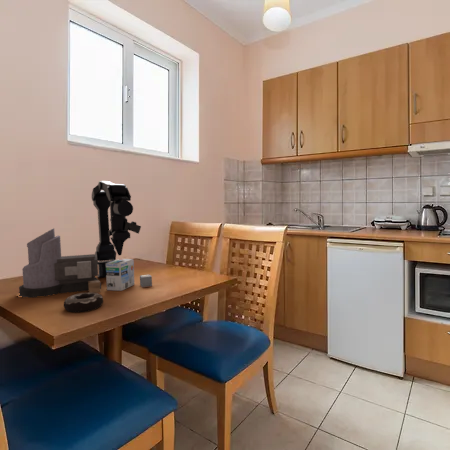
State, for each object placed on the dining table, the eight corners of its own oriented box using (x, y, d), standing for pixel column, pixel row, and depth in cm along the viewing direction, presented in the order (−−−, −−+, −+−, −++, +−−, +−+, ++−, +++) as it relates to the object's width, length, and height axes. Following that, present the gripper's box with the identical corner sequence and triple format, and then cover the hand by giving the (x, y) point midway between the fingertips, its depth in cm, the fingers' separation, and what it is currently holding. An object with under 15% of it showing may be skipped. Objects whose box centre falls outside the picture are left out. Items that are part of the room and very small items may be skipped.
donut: (95, 300, 112) (95, 289, 111) (109, 308, 103) (108, 295, 103) (59, 308, 104) (58, 295, 104) (70, 317, 95) (69, 303, 95)
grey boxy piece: (10, 300, 114) (6, 231, 112) (21, 289, 129) (17, 228, 127) (101, 290, 124) (98, 227, 123) (101, 281, 139) (98, 225, 138)
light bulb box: (121, 291, 122) (120, 263, 122) (106, 290, 124) (104, 263, 123) (135, 284, 133) (134, 258, 132) (120, 283, 134) (119, 258, 133)
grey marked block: (140, 285, 131) (139, 275, 131) (150, 283, 133) (149, 274, 133) (142, 287, 128) (141, 277, 127) (152, 286, 129) (151, 276, 129)
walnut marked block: (88, 291, 123) (88, 280, 123) (99, 290, 125) (99, 279, 125) (88, 294, 120) (88, 283, 119) (100, 292, 121) (99, 281, 121)
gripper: (143, 215, 121) (144, 256, 122) (135, 214, 138) (136, 250, 139) (112, 216, 117) (114, 259, 118) (107, 215, 134) (109, 252, 135)
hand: (119, 255), depth 127 cm, fingers closed
